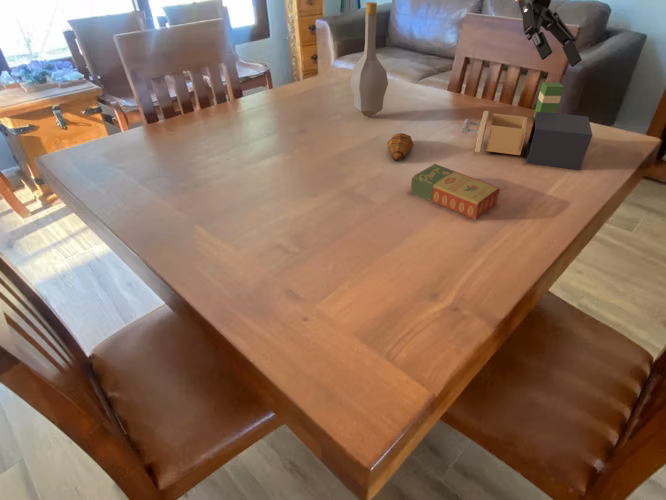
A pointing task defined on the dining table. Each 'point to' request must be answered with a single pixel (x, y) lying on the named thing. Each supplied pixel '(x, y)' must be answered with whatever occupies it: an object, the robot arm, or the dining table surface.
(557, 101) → the block
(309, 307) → the dining table surface
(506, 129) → the drawer
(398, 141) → the croissant
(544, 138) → the cabinet
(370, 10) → the bottle
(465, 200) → the carton
